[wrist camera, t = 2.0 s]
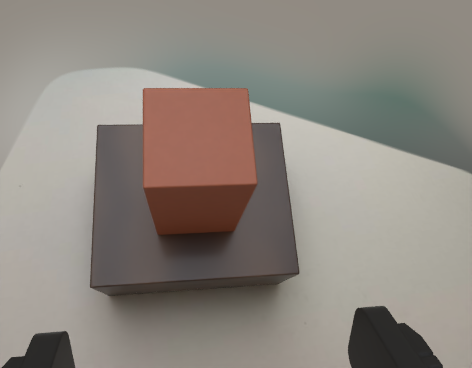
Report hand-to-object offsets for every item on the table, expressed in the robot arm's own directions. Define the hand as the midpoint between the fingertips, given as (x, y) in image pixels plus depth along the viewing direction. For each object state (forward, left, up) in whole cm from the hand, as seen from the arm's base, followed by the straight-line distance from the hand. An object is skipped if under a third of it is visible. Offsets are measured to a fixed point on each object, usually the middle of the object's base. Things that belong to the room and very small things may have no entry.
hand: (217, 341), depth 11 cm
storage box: (+3, -8, -19) cm, 21 cm away
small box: (+3, -8, -13) cm, 16 cm away
